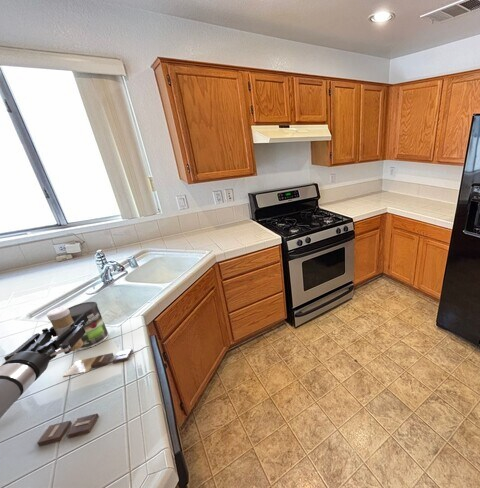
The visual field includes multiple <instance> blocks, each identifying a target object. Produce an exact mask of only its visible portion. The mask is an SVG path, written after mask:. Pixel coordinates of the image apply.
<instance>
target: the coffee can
mask: <svg viewBox="0 0 480 488" xmlns="http://www.w3.org/2000/svg"><path fill="white" fill-rule="evenodd" d="M68 309H69V311H70V315H71V317H72V320H73V321H74V322H75V321H76V320H77V319H78V318H79V317H80V316H81V315H82V314H83V313H86V315H87V317H88V321H87V322H86V324H85V326H84V329H85V332H86V333H85V334H84V335H83V336H82V337H81V340H82V342H83V346H81V347H80V348H79V349H77V350H76V351H78V350H79V351H81V350H87V349H90V347H91V348H94V347H96V346H97V345H99V344H101V343H103V342H104V341H106V340H107V339H108V337H109V335H110V334H109V332H108V329H107V327H106V325H105V321H104V318H103V317H102V314H101V311H100V309H99V307H98V303H97V301H86V302H85V301H84V302H81V303H77V304H74V305H72V306H70V307H68ZM95 345H96V346H95Z"/></svg>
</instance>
